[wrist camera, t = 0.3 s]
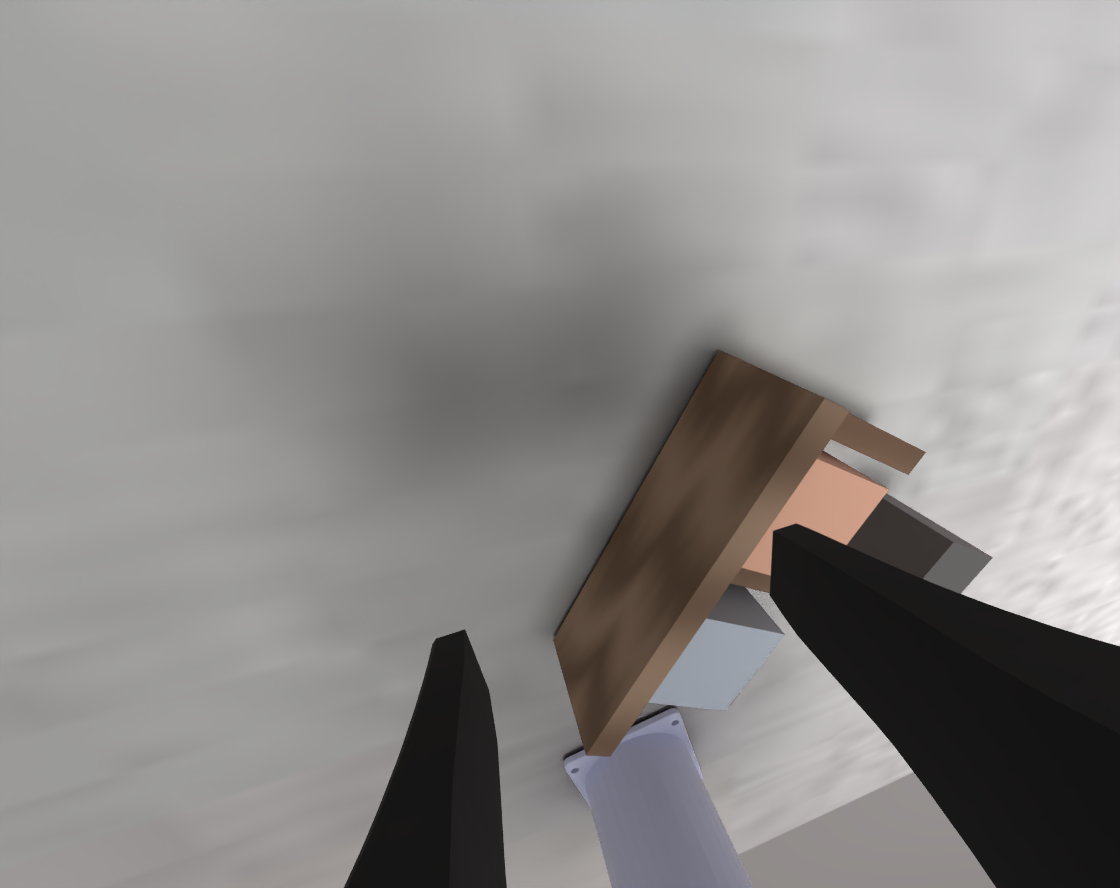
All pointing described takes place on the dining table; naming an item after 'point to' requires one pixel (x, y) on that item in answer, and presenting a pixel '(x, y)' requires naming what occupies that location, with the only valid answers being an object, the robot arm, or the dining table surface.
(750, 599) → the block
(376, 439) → the dining table surface
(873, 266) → the dining table surface
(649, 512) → the shelf lanes
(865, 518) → the block
